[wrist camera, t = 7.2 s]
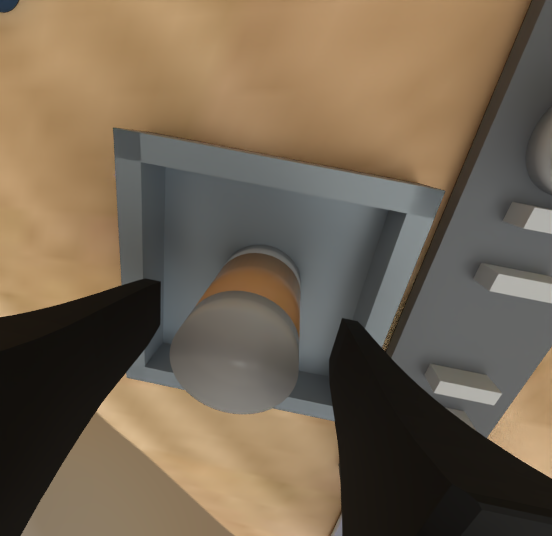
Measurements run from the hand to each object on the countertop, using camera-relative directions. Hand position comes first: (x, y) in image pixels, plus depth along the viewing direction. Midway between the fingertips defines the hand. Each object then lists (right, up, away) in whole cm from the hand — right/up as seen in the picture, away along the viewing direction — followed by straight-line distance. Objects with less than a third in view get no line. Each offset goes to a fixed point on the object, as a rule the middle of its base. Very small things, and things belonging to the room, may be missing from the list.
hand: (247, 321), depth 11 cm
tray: (0, +1, +4) cm, 4 cm away
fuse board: (+11, -1, +3) cm, 12 cm away
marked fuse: (0, +1, +3) cm, 3 cm away
